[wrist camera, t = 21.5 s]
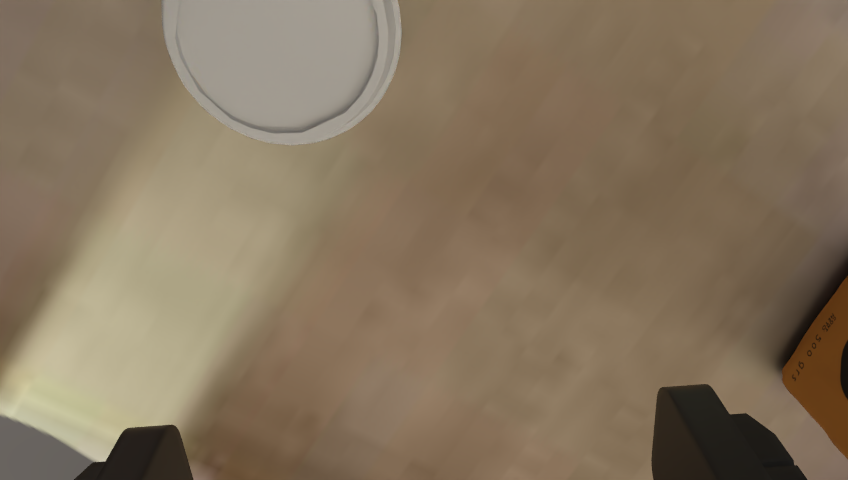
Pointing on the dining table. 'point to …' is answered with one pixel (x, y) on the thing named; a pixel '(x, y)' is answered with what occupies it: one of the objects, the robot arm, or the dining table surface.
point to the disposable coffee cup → (284, 62)
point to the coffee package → (824, 369)
